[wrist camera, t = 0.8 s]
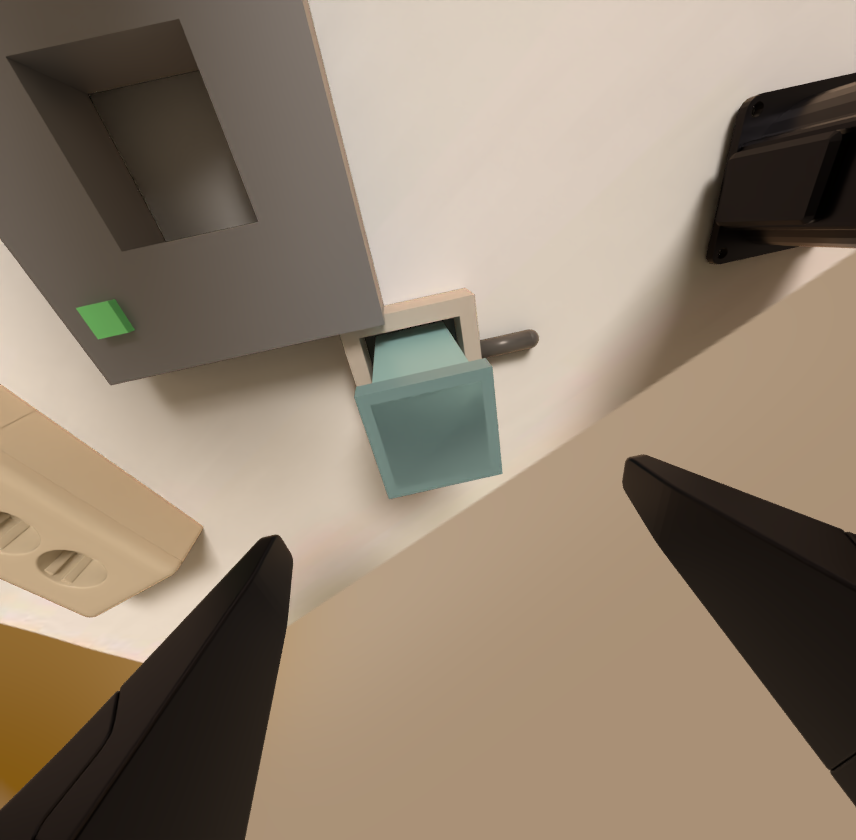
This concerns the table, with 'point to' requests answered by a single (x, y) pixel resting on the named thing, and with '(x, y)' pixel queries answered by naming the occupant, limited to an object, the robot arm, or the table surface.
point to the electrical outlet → (79, 518)
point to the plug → (429, 412)
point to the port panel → (126, 210)
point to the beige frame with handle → (429, 311)
